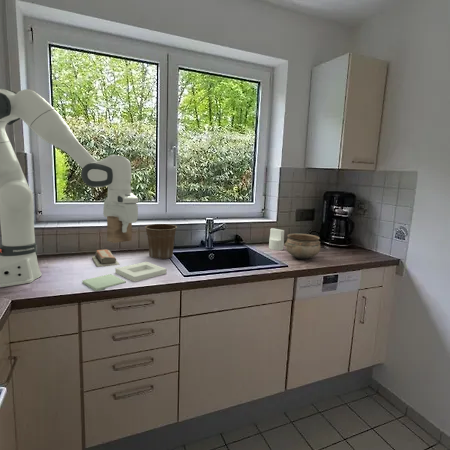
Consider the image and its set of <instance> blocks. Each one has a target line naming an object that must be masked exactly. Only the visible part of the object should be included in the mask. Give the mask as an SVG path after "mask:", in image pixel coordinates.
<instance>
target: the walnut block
mask: <svg viewBox="0 0 450 450" xmlns="http://www.w3.org/2000/svg"><path fill="white" fill-rule="evenodd" d="M106 220H107V221H106V232H107V233H106V241H107V242H109V243H113V244H116V243H117V244H118V243H124V242H132V236H133V233H132V232H133V231H132V230H133V229H132V228H133V225H132V224H133V223H129V224H128V227H127V232H124V233H123V232H121V228H122V225H123V224H122V221H119V217H114V216H107V217H106Z"/></svg>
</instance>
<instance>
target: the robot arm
mask: <svg viewBox="0 0 450 450" xmlns="http://www.w3.org/2000/svg"><path fill="white" fill-rule="evenodd" d="M19 120H22V121H23V122H24V123H25V124H26V125H27V126H28V127H29V128H30V129H31V130H32V132H33V133H35V134H36V136H38V137H39V138H41V139H42V140H43V141H44V142H46V143H48V144H50V145H51V146H53V147H56V148H58V149H60V150H62V151H63V152H65V153H67V154H68V156H70V158H72V160H74V161H75V163H77V164H78V165H79V167H80V168H81V173H80V175H81V179H82V181H83V183H85V185H87V186H89V187H91V188H104V187H107V196H106V197H105V200H104V202H103V213H102V214H103V216H104V217H105V218H107V216H114V217H119V221H122V224H123V225H122V228H121V232H123V233H124V232H127V227H128V224H129V223H132V224H133V223H135V224H136V223H137V221H138V219H139V218H138V217H139V216H138V215H139V206H138V203H139V197H138V196H136V195H135V194H134V193H133V192H132V186H131V181H132V164H131V161H130V160H129V159H128V158H127V157H125V156H123V155H117V154H110V155H108V156H107V157H104V158H103V159H100V160H97V159H96V158H95V157H94V156H93V155H92V154H91V153H90V152H89V151H88V150H87V149H86V148H85V147H84V146H83V145H82V143H80V141H79V140H78V139H77V137H76V136H75V135H74V133H73V131H72V129H71V128H70V126H69V125H68V123H66V121H65V120H64V118H63V117H62V115H61V114H60V113H59V112H58V111H57V110H56V109H55V107H53V106H52V104H50V102H48V101H47V100H46V99H45V98H44V97H43V96H42V95H41V94H39V93H37V92H36V91H35V90H32V89H29V88H28V89H27V88H26V89H21V90H19V91H18V92H16V91H13V90H7V89H3V88H0V232H1V244H0V288H4V287H12V286H18V285H25V284H30V283H32V282H34V281H35V280H37V279H38V278H40V277H41V276H42V274H43V273H42V272H41V269H40V266H39V262H38V256H37V255H38V245H37V242H36V236H35V235H36V234H35V212H34V211H35V209H34V205H35V204H34V193H33V191H32V189H31V187H30V185H29V184H28V181H27V179H26V176H25V174H24V172H23V169H22V167H21V164H20V162H19V159H18V157H17V155H16V152H15V149H14V148H13V146H12V143H11V141H10V139H9V136H8V134H7V132H6V126H7V125H9V126H10V125H11V126H12V125H13V124H14V123H16V122H17V121H19Z"/></svg>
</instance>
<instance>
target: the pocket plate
mask: <svg viewBox="0 0 450 450" xmlns="http://www.w3.org/2000/svg"><path fill="white" fill-rule="evenodd" d="M114 269H115V274H117V275H119V276H121V277H124V278H126V279H128V280H129V281H131V282H139V281H143V280H147V279H151V278H154V277H155V278H156V277H158V276H161V275H165V274H166V275H167V268H166V267H162V266H159V265H157V264H154V263H151V262H149V261H143V262H138V263H135V264H128V265H125V266H120V267H115V268H114Z"/></svg>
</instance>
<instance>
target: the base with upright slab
mask: <svg viewBox="0 0 450 450" xmlns="http://www.w3.org/2000/svg"><path fill="white" fill-rule="evenodd" d="M269 230H270V231H269V239H268V240H269V242H268V249H269V250H271V251H282V250H284V246H285V245H284V244H285V229H279V228H274V227H271V228H270V229H269Z"/></svg>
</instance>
